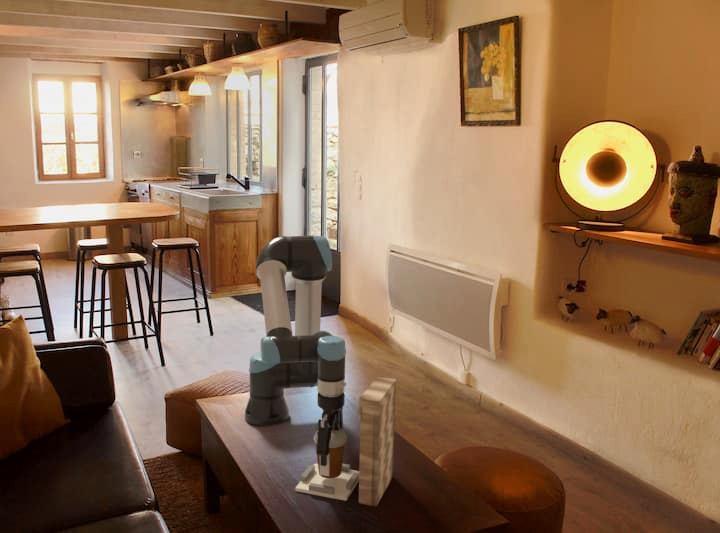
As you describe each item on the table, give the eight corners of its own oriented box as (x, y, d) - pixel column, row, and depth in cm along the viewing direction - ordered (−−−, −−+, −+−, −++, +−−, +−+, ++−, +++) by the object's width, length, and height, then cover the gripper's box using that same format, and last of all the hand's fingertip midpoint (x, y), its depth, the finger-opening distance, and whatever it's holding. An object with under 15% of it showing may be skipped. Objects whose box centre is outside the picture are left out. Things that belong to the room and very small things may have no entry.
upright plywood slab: (374, 473, 201) (377, 376, 195) (392, 476, 200) (396, 379, 194) (356, 502, 186) (359, 398, 180) (376, 506, 184) (379, 401, 178)
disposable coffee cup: (342, 483, 190) (343, 443, 187) (309, 479, 191) (309, 439, 189) (349, 467, 199) (350, 428, 196) (318, 463, 201) (318, 425, 198)
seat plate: (315, 466, 205) (315, 458, 204) (362, 474, 200) (363, 467, 200) (295, 491, 191) (295, 482, 190) (346, 500, 186) (346, 492, 186)
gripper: (330, 408, 179) (329, 487, 184) (355, 381, 199) (354, 453, 203) (304, 404, 181) (303, 483, 186) (331, 377, 201) (330, 449, 206)
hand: (330, 467), depth 195 cm, fingers closed on disposable coffee cup, 8 cm apart
